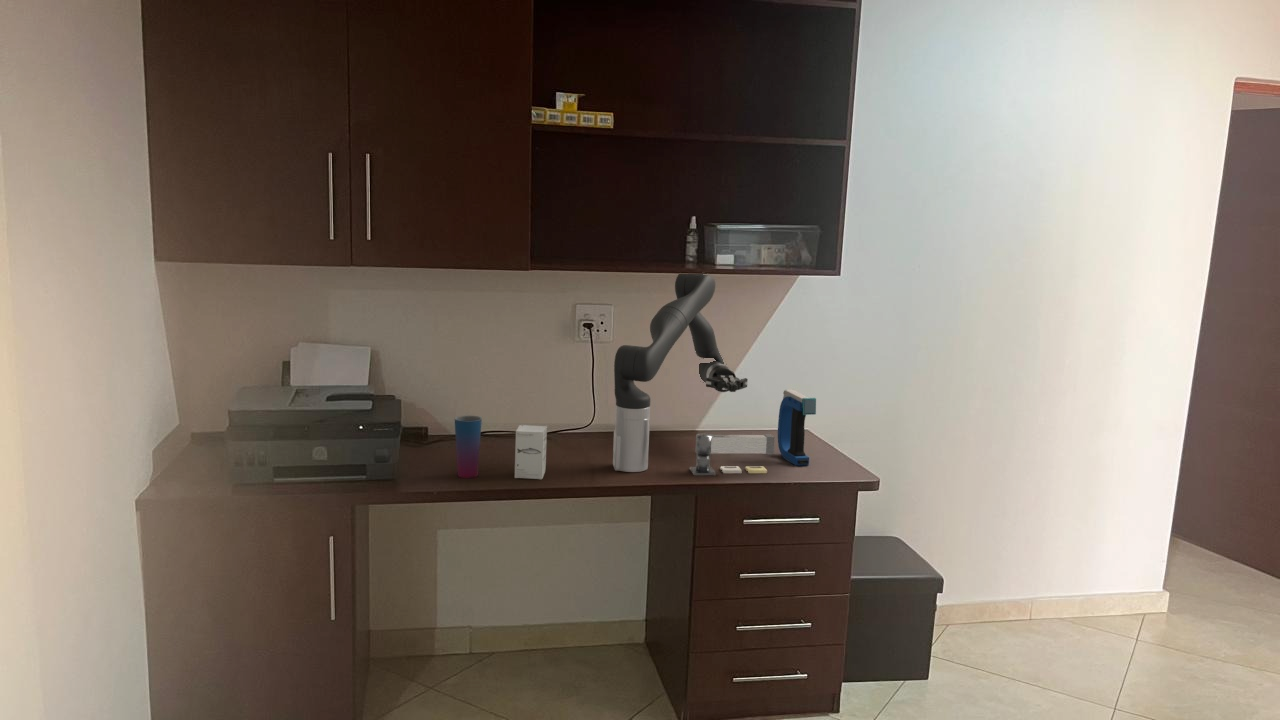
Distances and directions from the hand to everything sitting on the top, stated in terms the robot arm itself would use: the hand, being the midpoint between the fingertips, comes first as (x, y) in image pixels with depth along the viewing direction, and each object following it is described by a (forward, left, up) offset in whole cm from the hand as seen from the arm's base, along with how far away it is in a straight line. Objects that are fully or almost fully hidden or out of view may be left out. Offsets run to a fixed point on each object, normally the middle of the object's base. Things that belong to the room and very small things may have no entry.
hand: (733, 388), depth 265 cm
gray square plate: (-11, -16, -20) cm, 28 cm away
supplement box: (-57, -19, -20) cm, 63 cm away
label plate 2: (+4, -15, -20) cm, 25 cm away
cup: (-73, -19, -20) cm, 78 cm away
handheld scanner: (+18, -4, -20) cm, 27 cm away
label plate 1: (-3, -15, -20) cm, 25 cm away
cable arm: (-3, -16, -14) cm, 22 cm away
